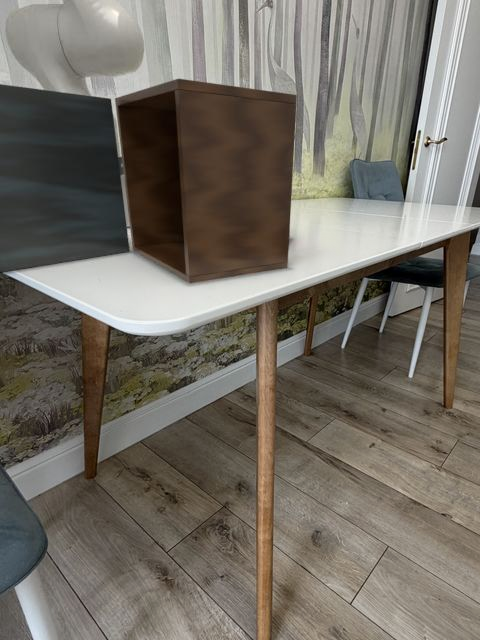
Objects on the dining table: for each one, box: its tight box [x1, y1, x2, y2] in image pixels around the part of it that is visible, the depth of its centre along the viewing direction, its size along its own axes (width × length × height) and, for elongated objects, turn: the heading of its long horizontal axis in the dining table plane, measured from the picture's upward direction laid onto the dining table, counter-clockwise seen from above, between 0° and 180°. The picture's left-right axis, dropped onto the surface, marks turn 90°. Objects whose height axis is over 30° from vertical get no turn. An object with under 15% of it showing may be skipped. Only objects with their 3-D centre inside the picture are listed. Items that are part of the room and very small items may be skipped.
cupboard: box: [114, 78, 298, 284], centre depth 58 cm, size 16×22×22 cm
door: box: [0, 83, 131, 273], centre depth 55 cm, size 7×22×22 cm, turn 139°
